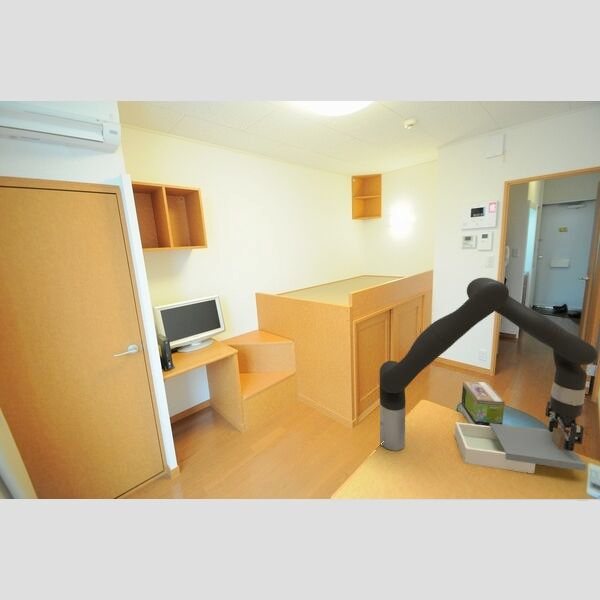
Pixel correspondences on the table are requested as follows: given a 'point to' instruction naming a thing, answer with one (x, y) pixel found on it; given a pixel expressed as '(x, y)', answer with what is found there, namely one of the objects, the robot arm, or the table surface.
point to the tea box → (481, 404)
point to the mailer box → (485, 448)
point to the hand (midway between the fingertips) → (560, 440)
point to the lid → (536, 446)
